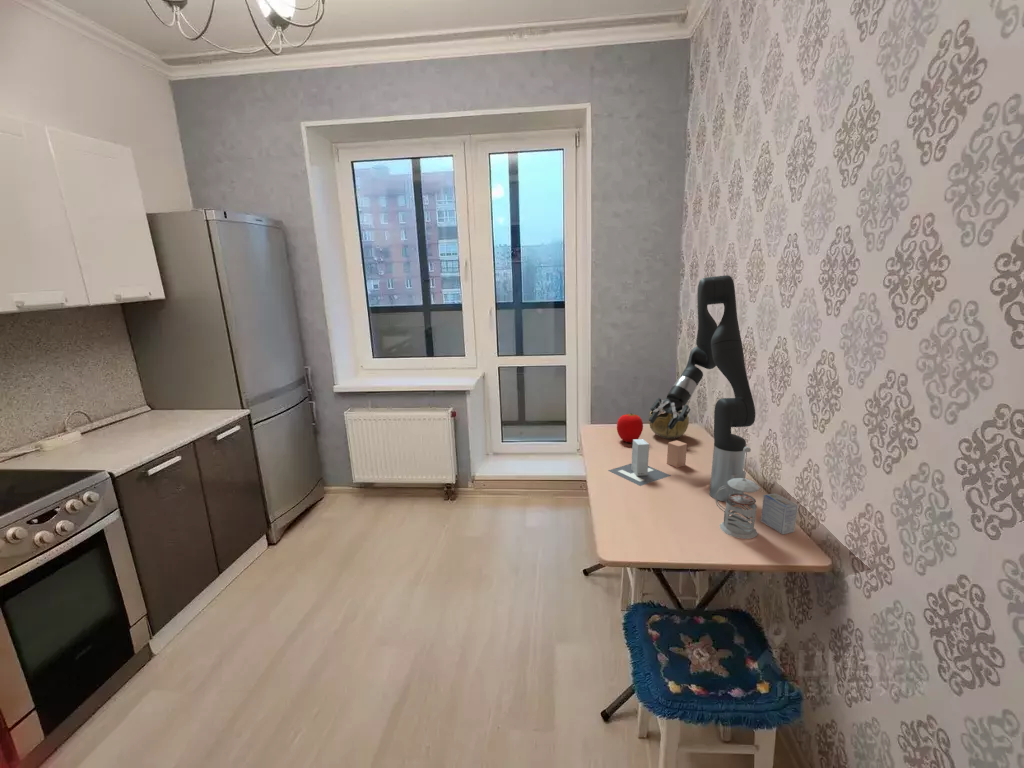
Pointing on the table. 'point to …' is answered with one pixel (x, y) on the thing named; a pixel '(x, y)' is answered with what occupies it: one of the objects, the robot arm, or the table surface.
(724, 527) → the french press
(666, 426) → the ceramic bowl
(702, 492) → the table surface
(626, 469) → the letter card
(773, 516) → the medicine box
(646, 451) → the skincare box
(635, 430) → the red apple
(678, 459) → the peach block
